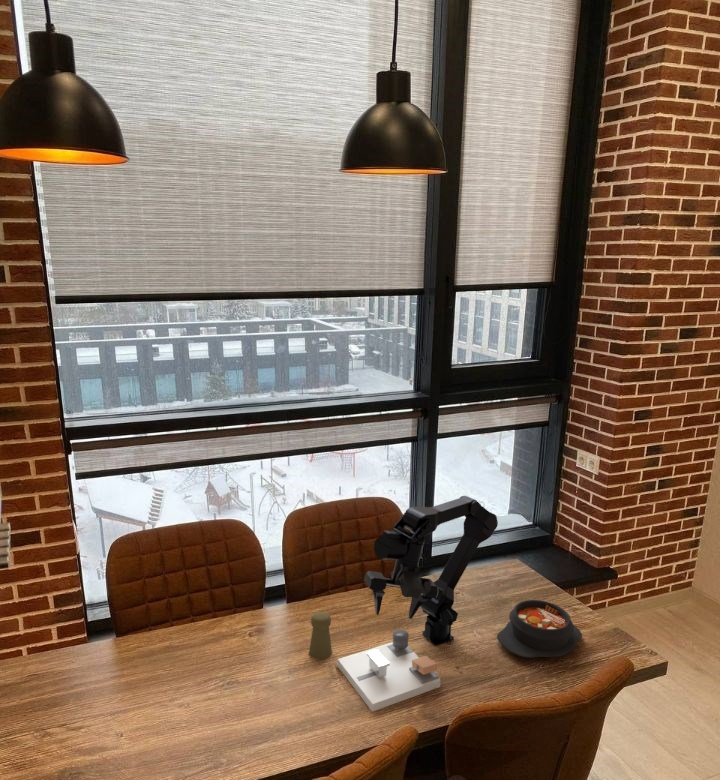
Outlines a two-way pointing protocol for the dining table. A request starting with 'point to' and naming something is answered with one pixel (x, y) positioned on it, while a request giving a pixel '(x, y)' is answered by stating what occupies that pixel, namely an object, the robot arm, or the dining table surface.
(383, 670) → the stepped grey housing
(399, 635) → the button
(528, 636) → the casserole
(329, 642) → the olive pawn
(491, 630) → the dining table surface
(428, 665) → the peach slab
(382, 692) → the panel
